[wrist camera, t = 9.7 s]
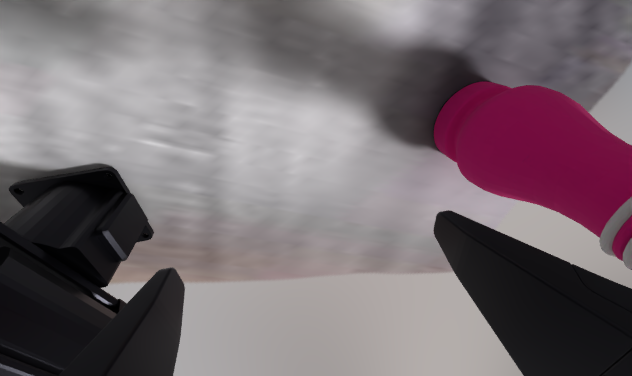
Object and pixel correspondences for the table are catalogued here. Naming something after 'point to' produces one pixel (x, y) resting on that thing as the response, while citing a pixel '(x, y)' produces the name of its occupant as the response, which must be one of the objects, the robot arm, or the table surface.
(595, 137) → the pepper mill
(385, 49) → the table surface
